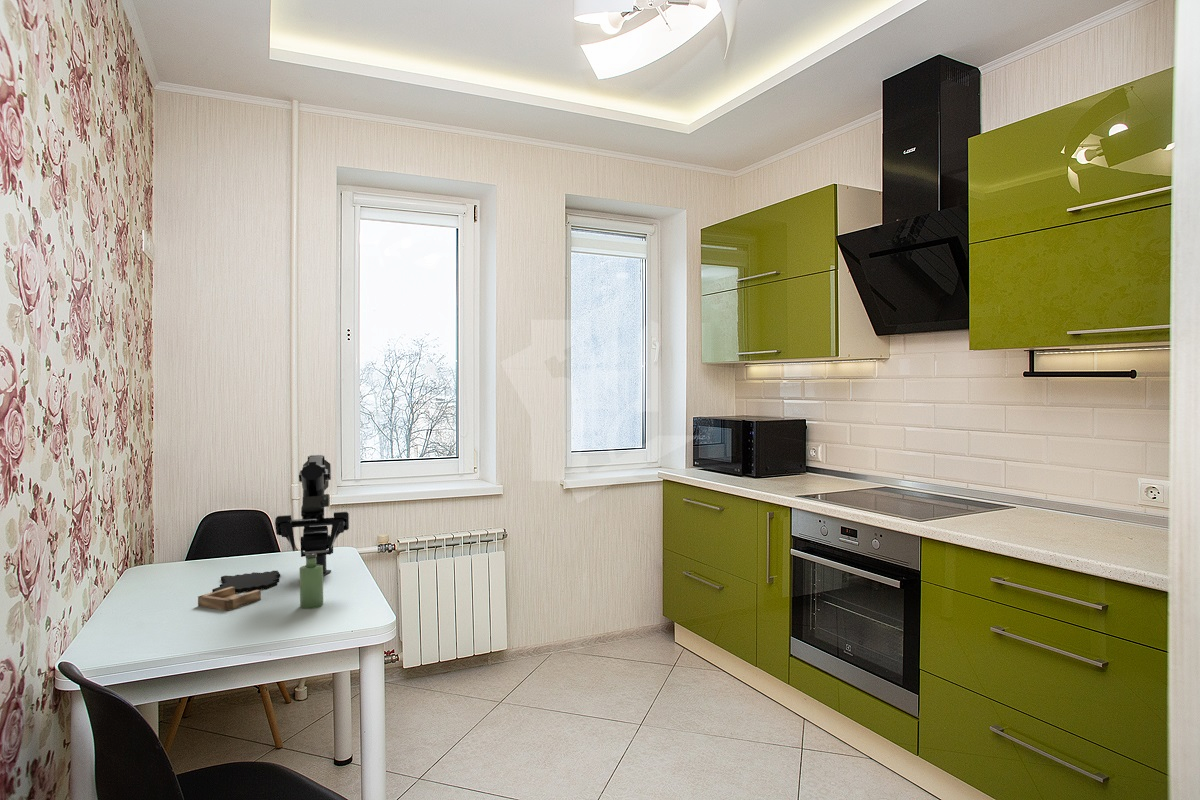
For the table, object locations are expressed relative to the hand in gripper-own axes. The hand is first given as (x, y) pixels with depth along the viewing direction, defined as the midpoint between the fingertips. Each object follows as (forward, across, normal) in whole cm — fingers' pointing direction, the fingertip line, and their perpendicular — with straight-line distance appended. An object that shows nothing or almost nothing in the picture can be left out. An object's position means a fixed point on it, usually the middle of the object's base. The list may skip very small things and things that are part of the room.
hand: (312, 548), depth 187 cm
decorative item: (-6, -19, +26) cm, 33 cm away
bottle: (+15, 0, +4) cm, 15 cm away
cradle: (+7, -20, +12) cm, 24 cm away
